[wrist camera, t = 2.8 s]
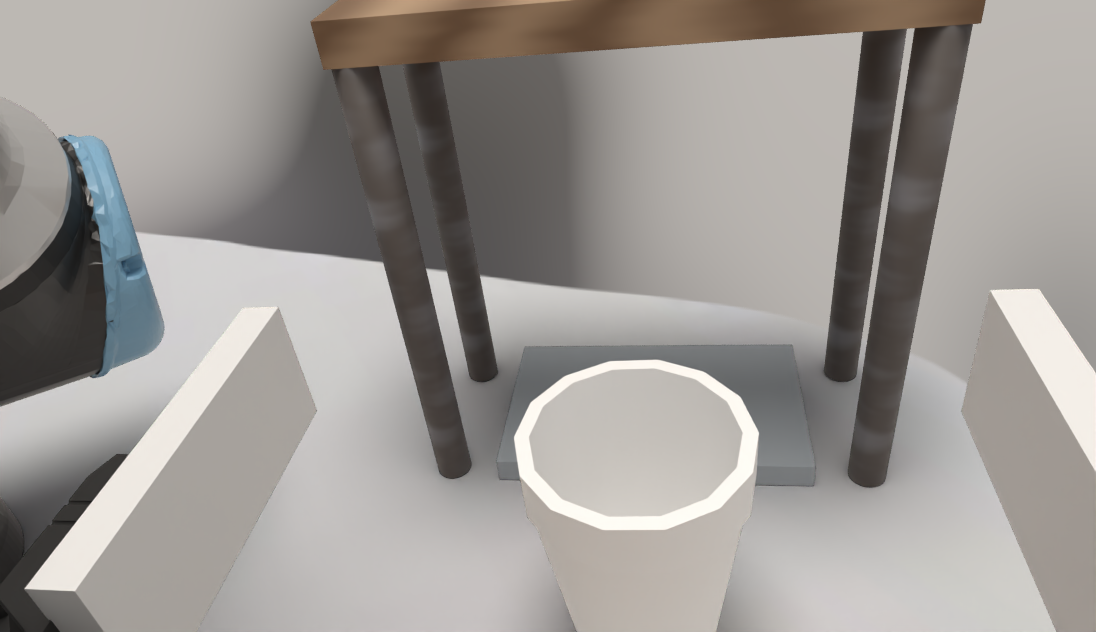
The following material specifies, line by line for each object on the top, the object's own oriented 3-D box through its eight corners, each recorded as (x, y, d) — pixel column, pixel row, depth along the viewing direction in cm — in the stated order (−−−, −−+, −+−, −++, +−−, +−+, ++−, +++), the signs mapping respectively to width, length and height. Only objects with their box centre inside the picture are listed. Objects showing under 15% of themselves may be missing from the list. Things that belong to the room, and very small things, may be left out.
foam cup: (581, 536, 43) (556, 348, 36) (755, 568, 41) (768, 371, 33) (524, 700, 36) (479, 507, 29) (731, 753, 33) (740, 554, 26)
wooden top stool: (435, 477, 48) (310, 21, 33) (472, 363, 57) (388, -39, 42) (889, 487, 44) (992, -35, 28) (853, 362, 53) (917, -89, 37)
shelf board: (499, 479, 48) (496, 461, 47) (527, 363, 56) (524, 346, 55) (813, 485, 44) (815, 467, 44) (790, 362, 53) (792, 344, 52)
